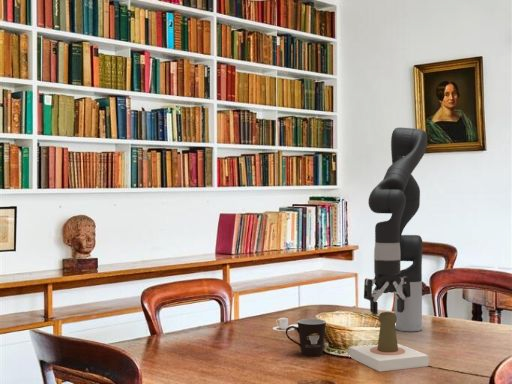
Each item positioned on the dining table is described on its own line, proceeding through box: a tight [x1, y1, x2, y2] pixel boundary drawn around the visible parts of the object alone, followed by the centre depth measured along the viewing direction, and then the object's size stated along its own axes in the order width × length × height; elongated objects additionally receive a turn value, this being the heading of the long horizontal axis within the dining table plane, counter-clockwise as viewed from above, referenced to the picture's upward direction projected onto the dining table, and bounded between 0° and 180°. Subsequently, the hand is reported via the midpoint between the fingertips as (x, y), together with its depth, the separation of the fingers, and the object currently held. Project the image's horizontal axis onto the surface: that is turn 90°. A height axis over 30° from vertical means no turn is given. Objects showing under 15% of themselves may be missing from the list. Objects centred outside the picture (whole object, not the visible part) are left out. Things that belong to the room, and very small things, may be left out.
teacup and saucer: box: [272, 317, 298, 332], centre depth 259 cm, size 9×8×4 cm
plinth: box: [348, 342, 430, 373], centre depth 213 cm, size 18×16×3 cm
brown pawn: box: [377, 311, 399, 352], centre depth 213 cm, size 6×6×11 cm
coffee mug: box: [285, 318, 327, 358], centre depth 223 cm, size 12×9×10 cm
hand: (387, 313), depth 213 cm, fingers open, 8 cm apart
